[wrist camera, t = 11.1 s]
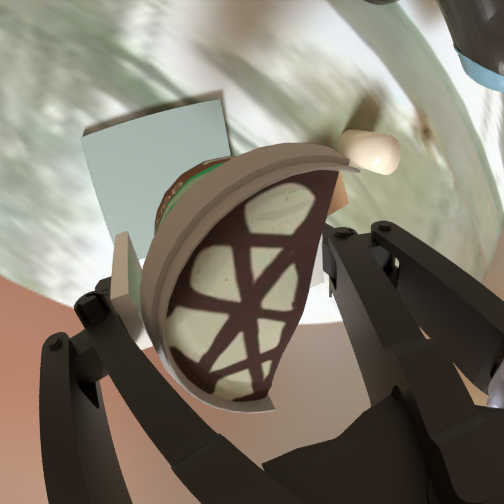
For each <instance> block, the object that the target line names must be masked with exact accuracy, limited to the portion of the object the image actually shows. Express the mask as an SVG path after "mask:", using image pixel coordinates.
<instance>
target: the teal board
mask: <svg viewBox="0 0 504 504" xmlns="http://www.w3.org/2000/svg"><path fill="white" fill-rule="evenodd" d="M80 139H81V143H82V146H83V150H84V154H85V158H86V162H87V165H88V169H89V172H90V176H91V179H92V182H93V186H94V189H95V192H96V195H97V198H98V201H99V204H100V207H101V210H102V213H103V216H104V219H105V222H106V225H107V228H108V230H109V233H110V236H111V238H112V241H113V244H115V235H117V234H120V233H122V232H125V231H128V232H129V235H130V238H131V241H132V244H133V247H134V249H135V252H136V255H137V258H138V260H139V259H142V258H145V257H146V256H147V253H148V251H149V248H150V245H151V242H152V240H153V238H154V227H155V218H156V213H157V210H158V207H159V205H160V203H161V201H162V198H163V196H164V194H165V192H166V191H167V190H168V189H169V188H170V187H171V185H172V184H173V183H174V182H175V181H176V180H177V179H178V178H179V176H180V175H181V174H183V173H184V172H186V171H188V170H189V169H191V168H193V167H195V166H196V165H198V164H200V163H201V162H203V161H207V160H211V159H216V158H221V157H226V156H231V154H230V149H229V143H228V138H227V133H226V127H225V122H224V116H223V110H222V105H221V99H217V100H212V101H207V102H202V103H197V104H192V105H188V106H183V107H179V108H175V109H171V110H166V111H163V112H159V113H155V114H151V115H148V116H144V117H141V118H137V119H134V120H130V121H127V122H124V123H121V124H118V125H115V126H112V127H109V128H106V129H103V130H100V131H97V132H94V133H92V134H89V135H86V136H84V137H81V138H80Z"/></svg>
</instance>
